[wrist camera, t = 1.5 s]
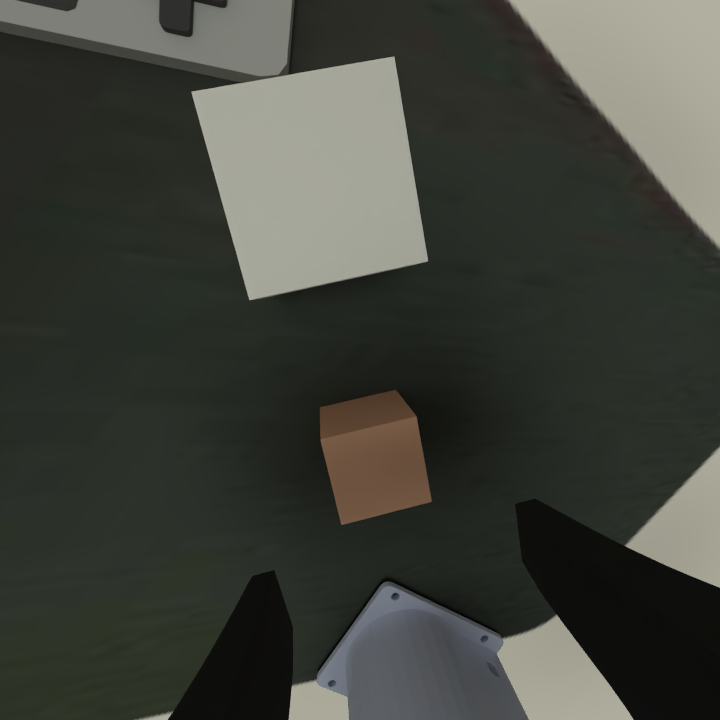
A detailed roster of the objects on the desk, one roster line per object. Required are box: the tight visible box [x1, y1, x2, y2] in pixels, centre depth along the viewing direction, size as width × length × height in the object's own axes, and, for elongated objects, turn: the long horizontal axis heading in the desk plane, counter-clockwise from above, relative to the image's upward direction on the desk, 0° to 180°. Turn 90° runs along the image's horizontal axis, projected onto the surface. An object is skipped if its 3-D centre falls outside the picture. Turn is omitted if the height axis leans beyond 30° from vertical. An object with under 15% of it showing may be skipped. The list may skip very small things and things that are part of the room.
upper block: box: [192, 57, 428, 300], centre depth 12 cm, size 6×6×3 cm
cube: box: [320, 390, 432, 525], centre depth 17 cm, size 4×4×4 cm
